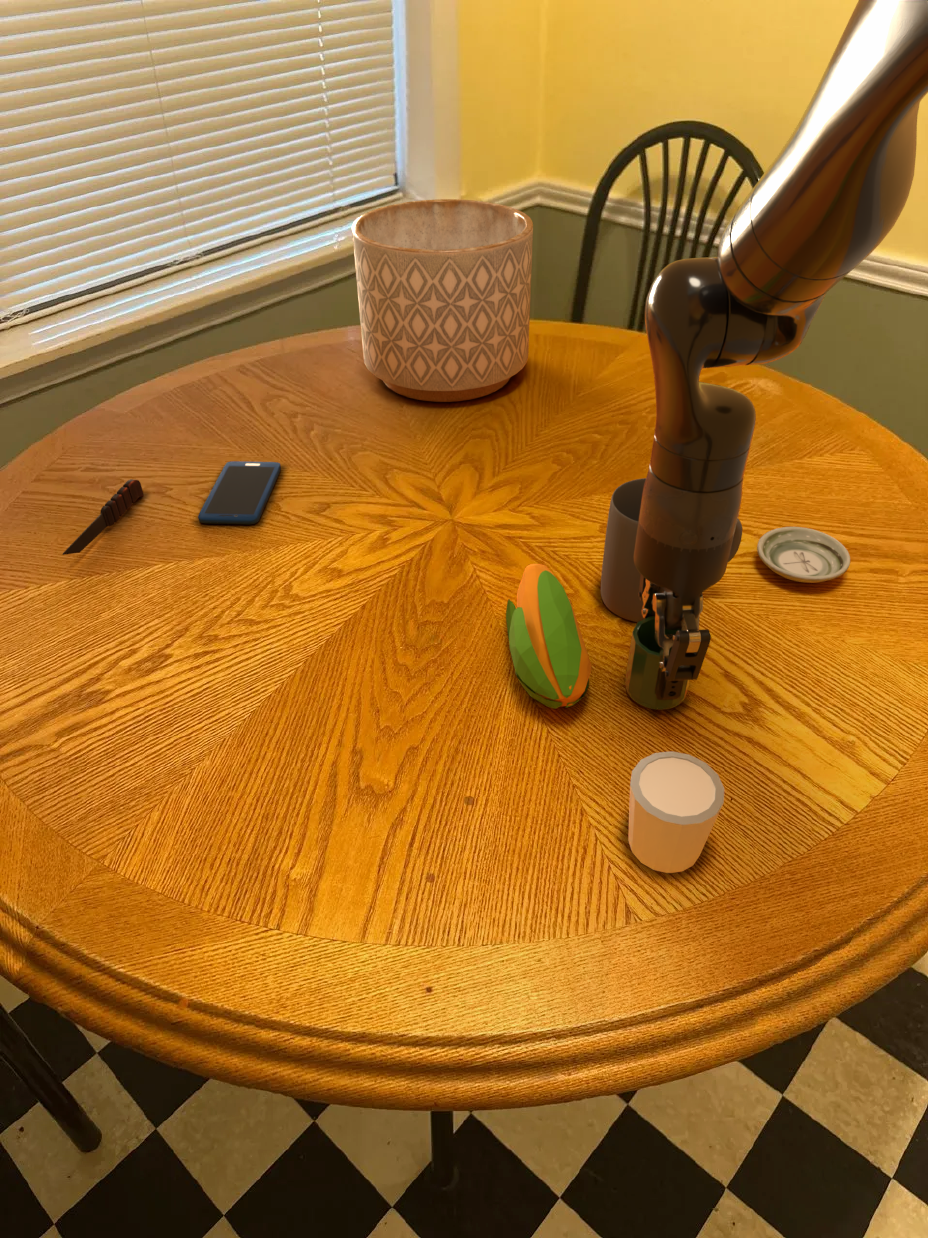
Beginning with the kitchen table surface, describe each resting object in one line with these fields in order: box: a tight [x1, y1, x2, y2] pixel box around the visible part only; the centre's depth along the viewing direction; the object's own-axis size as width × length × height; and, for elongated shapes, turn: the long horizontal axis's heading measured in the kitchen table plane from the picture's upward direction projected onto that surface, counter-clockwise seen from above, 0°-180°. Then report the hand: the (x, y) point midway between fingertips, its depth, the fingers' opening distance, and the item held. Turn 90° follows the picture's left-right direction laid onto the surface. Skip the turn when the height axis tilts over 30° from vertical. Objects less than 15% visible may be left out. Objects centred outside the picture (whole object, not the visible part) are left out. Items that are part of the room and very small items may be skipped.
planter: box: [351, 198, 534, 403], centre depth 128 cm, size 26×26×22 cm
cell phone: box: [197, 460, 282, 525], centre depth 108 cm, size 7×14×1 cm, turn 177°
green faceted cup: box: [624, 616, 691, 711], centre depth 78 cm, size 6×6×6 cm
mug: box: [600, 477, 743, 623], centre depth 88 cm, size 14×9×12 cm
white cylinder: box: [627, 750, 725, 874], centre depth 66 cm, size 7×7×7 cm
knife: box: [61, 478, 144, 556], centre depth 101 cm, size 17×1×3 cm, turn 168°
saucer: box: [756, 526, 851, 584], centre depth 94 cm, size 10×10×2 cm
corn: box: [505, 563, 593, 709], centre depth 83 cm, size 7×8×20 cm
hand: (659, 672), depth 79 cm, fingers closed on green faceted cup, 5 cm apart
